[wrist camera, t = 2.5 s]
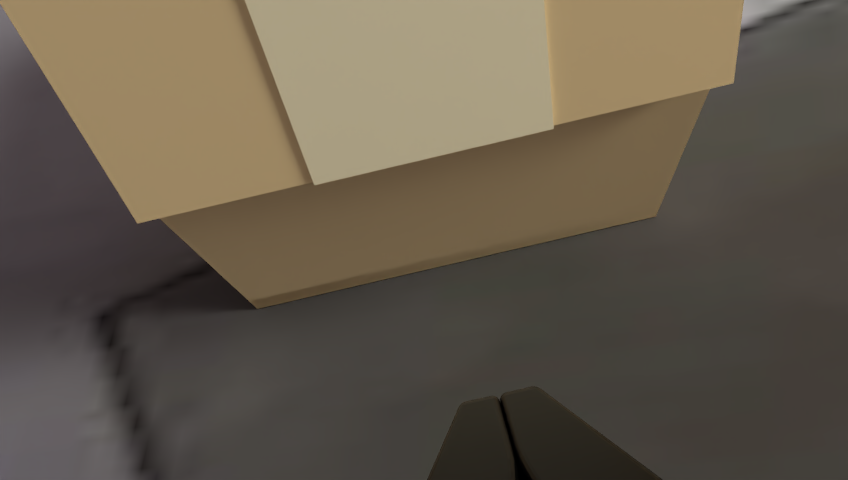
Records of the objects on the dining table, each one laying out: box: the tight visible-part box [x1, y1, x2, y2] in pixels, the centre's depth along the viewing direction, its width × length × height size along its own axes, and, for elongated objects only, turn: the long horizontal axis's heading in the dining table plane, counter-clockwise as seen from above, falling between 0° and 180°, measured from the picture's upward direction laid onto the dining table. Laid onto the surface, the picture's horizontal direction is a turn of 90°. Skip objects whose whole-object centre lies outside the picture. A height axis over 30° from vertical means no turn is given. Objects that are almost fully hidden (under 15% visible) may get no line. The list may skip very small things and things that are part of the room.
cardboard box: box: [159, 89, 710, 309], centre depth 22 cm, size 10×12×8 cm
